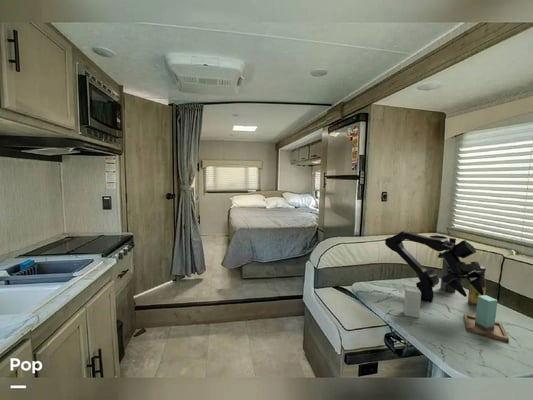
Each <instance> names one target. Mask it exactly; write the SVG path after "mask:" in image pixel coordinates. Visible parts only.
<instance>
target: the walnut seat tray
mask: <svg viewBox="0 0 533 400" xmlns="http://www.w3.org/2000/svg"><path fill="white" fill-rule="evenodd" d="M475 318H476V315H471V314H466V313H463V321H464V325H465V330H466V332H469V333H472V334H476V335H480V336H484V337H487V338H491V339H495V340H498V341H503V342H505V343H509V341H510V337H509V335H508V333H507V332H506V329H505V327H504V325H503V323H502V322H498V321H496V320H495V327H494V330H490V331H485V330H483V329H481V328H479V327H478V326H476V325H475Z"/></svg>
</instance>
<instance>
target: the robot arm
mask: <svg viewBox="0 0 533 400" xmlns="http://www.w3.org/2000/svg"><path fill="white" fill-rule="evenodd" d="M405 240H408V241H411V242H415V243H418V244H421V245H425V246H427V247H429V249H432V250H434V251H437V252H438V256H437V259H443V258H444V260H445V261H446V263H447V265H448V266H449V267H447V269H448V270H449V269H450V270H451V271H452V273H448V274H446V275H444V276H443V277H442V281H443V283H447V285H449V286H451V287H452V288H454V289H455V290H456V291H455V292H457V293H459V294H460V295H461V296H463V297H464V298H467V297H468V296H467V293H466V291H465V288H464V287H463V285H462V281H461V280H467V281H469V285H470V284H471V285H472V286H473V287H474V288H475V289H476V290H477V291H478V293H480V294H481V295H484V293H483V288H482V283H481V281H482V279H483V278H484V277H486V274H485V275H484V273H483V272H481V271H479V268H480V267H481V266H482V265H481V264H479V262H478V261H470V263H466V262H465V261H462V260H461V259H466V258H468V257H470V256H471V255H474V254H476V253H477V250H476V249H475V247H474V245H473V244H471V243H469V242H468V241H467V240H465V239H463V240H461V241H460V242H459V243H457V244H456V243H455V244H453V243H450V242H449V240H448V239H447V238H444V237H443V238H442V237H441V238H440V237H430V236H426V235H422V234H418V233H414V232H411V231H408V230H403V231H400V232H399V233H397V234H395V235H393V236H389V237H387V238H386V239H385V240H384V244H385V246H386V247H387V248H388V249H390V250H391V251H393V252H395V253H397V254H398V256H400V257H401V259H402V260H403V261H404V262H405V263H407V265H408V266H409V267H410V268H411V269H412V270H413V271H414V272H415V273H416V275H417V277H418V280H419V281H417V282H416V283H415V285H416V289H419V290H420V292H421V301H424V302H427V303H433V300H434V294H435V293H434V290H433V288H435V286H437V285H439V283H440V279H439V277H438V274H437V273H435V272H434V270H433V269H431V268H429V269H427V268H425V267H424V266H423V265H422V264H421V263H420V262H419V261H418V260H417V259H416V257H414V256H413V255H412V254H411V253H410V251H408V250H407V249H406V248H405V246H404V243H403V242H404V241H405ZM450 249H453V250H451V251H448V250H450ZM443 251H444V252H443ZM460 258H461V259H460ZM475 270H476V271H475Z"/></svg>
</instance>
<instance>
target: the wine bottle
mask: <svg viewBox="0 0 533 400" xmlns="http://www.w3.org/2000/svg"><path fill="white" fill-rule="evenodd" d="M448 241H449V242H450V243H453V244H456V241H457V239H456V237H455V238H453V237H449V240H448ZM451 250H453V249H450V250H447V251H451ZM441 267H442V268H441V278H440V289H441V290H443V291H444V292H446V293H456V292H457V291H456V290H455V289H454V288H452V287H451V286H449V285H447V283H443V281H442V277H443V276H444V275H446V274H448V273H452V271H451V270H450V269H449V270H448V269H447V267H449V266H448V265H447V263H446V261H445V260H444V258H442V266H441Z"/></svg>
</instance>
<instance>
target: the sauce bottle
mask: <svg viewBox="0 0 533 400" xmlns="http://www.w3.org/2000/svg"><path fill="white" fill-rule="evenodd" d="M480 266H481V267H480V268H479V271H481V272H483V273H484V275H485V276H484V278H483V279H482V281H481V283H482V288H483V293H484V295H486V290H487V280H486V278H485V277H486V273H485V272H486V270H487V268H486V267H485V266H482V265H480ZM475 271H476V270H475ZM484 295H481V294H480V293H478V291H477V290H476V289H475V288H474V287H473V286H472V285H471V284H470V283H469V289H468V296H467V302H468V304H469V305H471V306H474V307H477V300H478V296H484Z"/></svg>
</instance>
